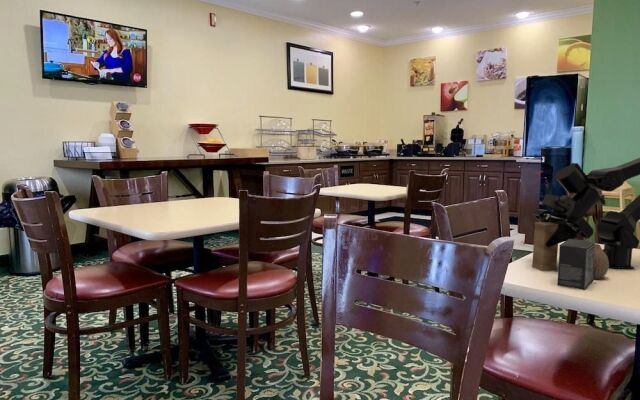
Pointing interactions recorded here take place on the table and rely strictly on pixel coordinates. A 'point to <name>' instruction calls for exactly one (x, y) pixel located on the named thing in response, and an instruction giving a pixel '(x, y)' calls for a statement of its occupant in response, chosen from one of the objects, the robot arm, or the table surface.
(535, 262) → the walnut block
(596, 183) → the robot arm
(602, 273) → the vase
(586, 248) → the small box
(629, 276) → the table surface
